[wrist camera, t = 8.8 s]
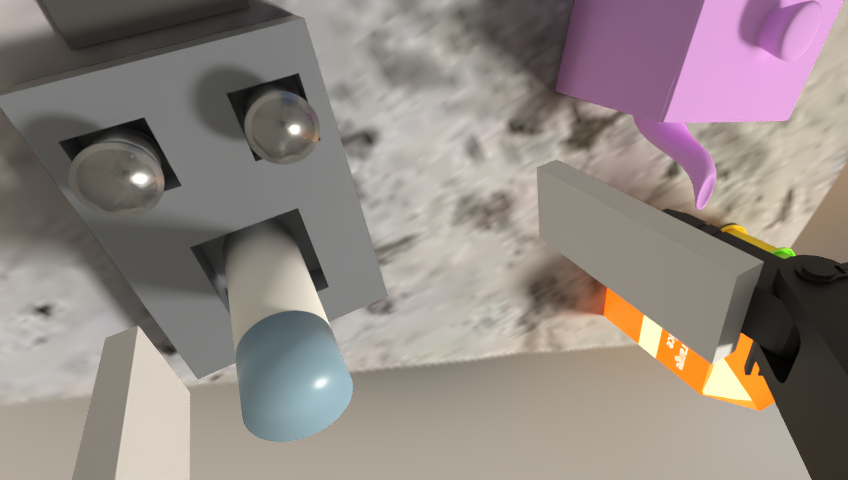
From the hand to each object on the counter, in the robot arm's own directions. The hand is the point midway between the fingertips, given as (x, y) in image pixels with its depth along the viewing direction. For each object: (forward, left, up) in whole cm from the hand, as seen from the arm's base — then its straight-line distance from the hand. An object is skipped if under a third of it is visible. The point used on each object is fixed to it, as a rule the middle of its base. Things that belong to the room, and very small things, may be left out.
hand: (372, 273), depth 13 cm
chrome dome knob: (0, -9, -21) cm, 22 cm away
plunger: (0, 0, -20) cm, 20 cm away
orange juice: (+35, +36, -22) cm, 55 cm away
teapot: (+3, +33, -23) cm, 40 cm away
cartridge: (+10, -4, -22) cm, 24 cm away
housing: (+6, -4, -22) cm, 24 cm away
